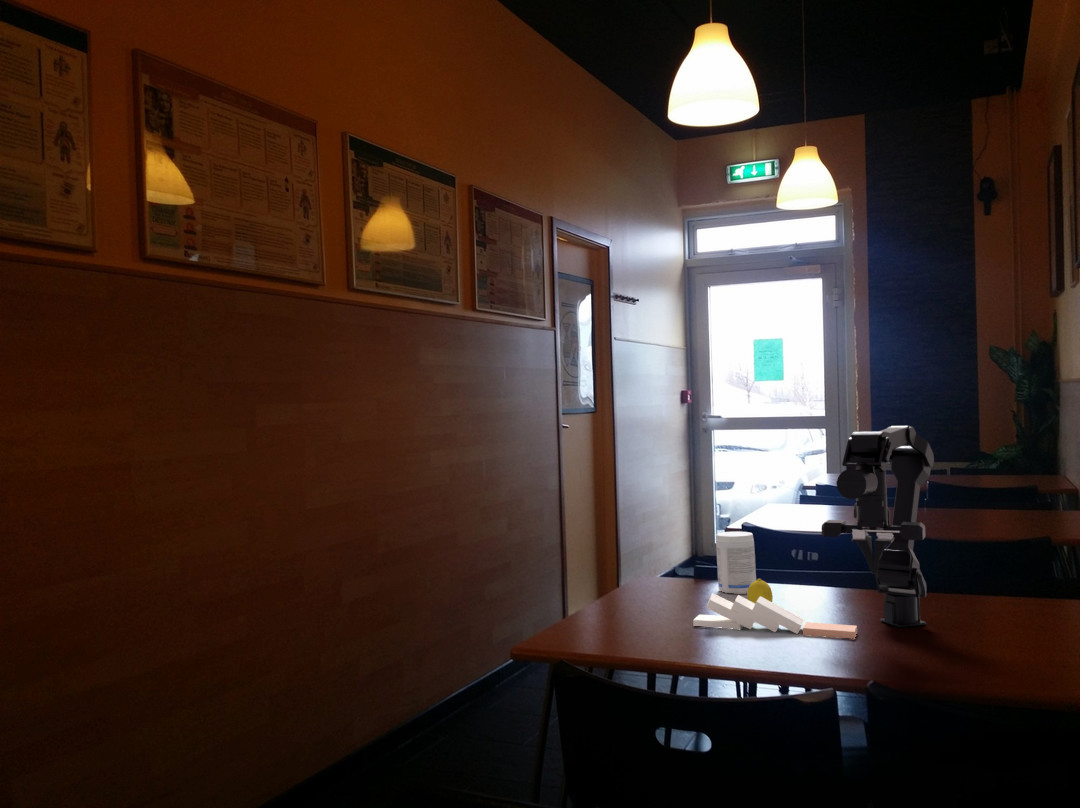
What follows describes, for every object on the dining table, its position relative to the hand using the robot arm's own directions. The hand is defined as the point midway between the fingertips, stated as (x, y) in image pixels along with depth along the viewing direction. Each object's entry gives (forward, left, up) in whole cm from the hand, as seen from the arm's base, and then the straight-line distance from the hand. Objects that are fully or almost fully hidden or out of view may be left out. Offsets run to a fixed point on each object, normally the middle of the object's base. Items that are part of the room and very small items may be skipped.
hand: (874, 573), depth 170 cm
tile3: (+13, -14, -12) cm, 23 cm away
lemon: (+9, -28, -13) cm, 32 cm away
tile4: (+17, -18, -12) cm, 27 cm away
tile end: (+19, -20, -13) cm, 30 cm away
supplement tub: (+1, -52, -13) cm, 54 cm away
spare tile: (+2, -4, -13) cm, 13 cm away
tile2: (+10, -11, -12) cm, 19 cm away
